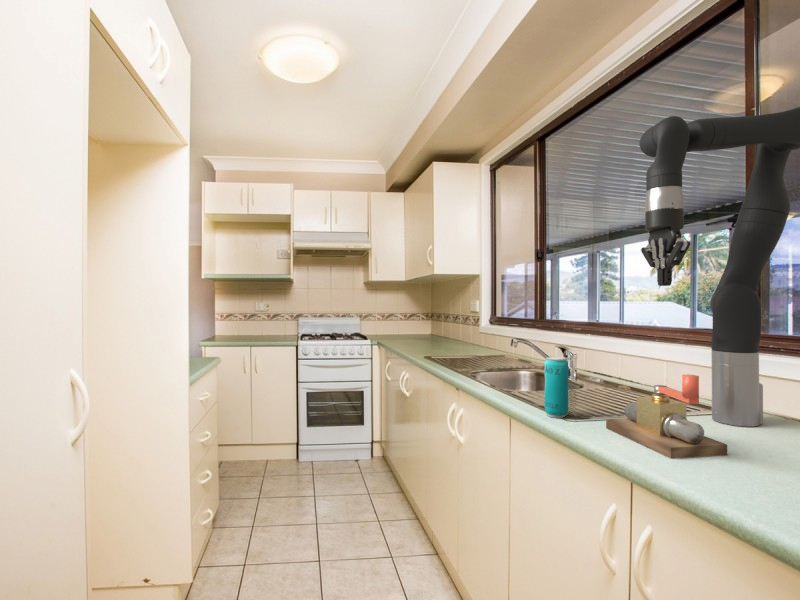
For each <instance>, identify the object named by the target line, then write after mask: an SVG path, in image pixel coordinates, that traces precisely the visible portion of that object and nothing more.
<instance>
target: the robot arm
mask: <svg viewBox="0 0 800 600" xmlns="http://www.w3.org/2000/svg"><path fill="white" fill-rule="evenodd" d="M638 143H639V148H640V151H641V152H642V153H643V154H644V155H645V156H648V157H650V158H655V159H654V161H653V162H652V163H651V165H650V166H649V167H648V168H647V170H646V174H645V176H646V178H645V183H646V184H645V185H646V187H645V188H646V189H645V190H646V193H645V199H644V200H645V203H644V205H645V206H644V208H645V211H644V213H645V214H644V215H645V217H644V219H645V223H644V226H645V228H644V229H645V232H647V233H648V234H649V236H648V241H647V243H648V244H647V245H646V246H645V247H642V248H641V249H640V252H641V254H642V255H643V257H644V258H645V260H646V262H647V263H648V265H649V267H650V268H654V269H656V282H657V285H658V286H659V287H668V286H671V285H672V281H673V269H674V268H675V267H676V266H679V265H681V263H682V261H683V260H684V257H685V255H686V254H687V252H688V250H689V248H690V247H691V242H690V241H688V240H687V241H686V240H685V239H683V238H682V237H683V236H682V233H681V230H683V229H684V227H685V225H684V223H685V222H684V221H685V220H684V219H685V212H684V211H685V209H684V208H685V206H684V202H685V200H684V199H685V198H684V192H683V171H682V170H683V166H684V163H685V160H686V156H687V153H690V152H707V151H708V152H709V151H710V152H711V151H717V150H718V151H720V150H728V149H734V148H740V147H745V146H752V145H757V146H756V150H755V151H756V152H755V153H756V154H755V156H754V162H753V167H752V171H751V175H750V178H749V182H748V185H747V188H746V192H745V196H744V198H743V200H742V204H741V207H740V210H739V213H738V214H737V215H738V217H737V219H736V222H735V225H734V229H733V233H732V235H731V242H730V246H729V250H728V251H729V252H728V257H727V261H726V265H725V268H724V270H723V273H722V275H721V276H720V277H721V278H720V279H719V282H718V284H717V286H716V288H715V290H714V292H713V294H712V296H711V298H710V303H709V307H710V310H711V312H712V334H711V342H710V343H711V419H712V420H713V421H715V422H718V423H721V424H725V425H731V426H735V427H736V426H738V427H758V426H760V425H764V386H763V384H762V383H761V382H760V342H761V338H762V302H761V299H760V296H759V295H758V294H757V292H758V288H759V283H760V279H761V276H762V272H763V269H764V268H765V266H766V264H767V262H768V260H769V259H770V257H771V255H772V254H773V252H774V250H775V248H776V246H777V245H778V243H779V240H780V238H781V237H782V234H783V231H784V229H785V226H786V223H787V221H788V218H789V214H790V210H791V202H790V196H789V192H788V190H787V186H786V183H785V179H784V173H785V168H786V164H787V160H788V158H789V156H790V153H791V151H796V150H800V106H797V107H794V108H791V109H788V110H785V111H779V112H773V113H767V114H766V113H765V114H758V115H745V116H730V117H728V116H727V117H712V118H710V117H709V118H708V117H707V118H699V119H695V120H692V121H690V122H688V123H687V122H686V120H685V119H684V118H682V117H680V116H677V115H672V116H668V117H665V118H664V119H662V120H661V121H658V122H657V123H656V124H654V125H652V126H651V127H650V128H648V129H647V130H645V131H644V133H643V134H642V135H641V137H640V139H639V142H638Z"/></svg>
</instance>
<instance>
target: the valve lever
mask: <svg viewBox="0 0 800 600" xmlns="http://www.w3.org/2000/svg"><path fill="white" fill-rule="evenodd" d="M681 377H682V379H681V381H682V383H681V384H682V385H681V387H682V389H681V391H679V390H677V389H675V388H672V387H669V386H667V385H663V384H654V385H653V394H657V395H668V396H669V397H672V399H673V398H674V399H677V401H680V402H683V403H686V404H687V405H688V404H689V405H692V404H693V405H694V404H695V405H697V404H698V405H699V404H700V388H699V387H700V376H699V375H695V374H682V375H681Z"/></svg>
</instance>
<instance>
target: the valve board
mask: <svg viewBox="0 0 800 600" xmlns="http://www.w3.org/2000/svg"><path fill="white" fill-rule="evenodd" d="M670 397H671V396H668V395H657V394H654V393H652V394H651V396H637V397H636V402H634V401H633V402H629V403H628V404H627V405H626V406H625V407H624V416H625V417H626V418H613V419H606V420H605V423H606V424H605V427H606V429H607V430H609V431H610V432H611V431H612V432H613V433H615V434H617V435H620V436H622V437H624V438H627V439H628V440H630V441H633V442H635V443H636V444H639V445H642V446H643V447H646V448H648V449H650V450H652V451H654V452H656V453H658V454H661V455H663V456H665V457H666V458H669V459H683V458H699V457H715V456H727V455H728V444H727V443H724V442H722V441H718V440H715V439H714V438H711V437H708V436H705V430H704V428H703V426H702V425H701V424H699V423H696V422H693V421H691V420H688V419H687V403H686V402H683V401H681V400H675V399H673V398H670Z"/></svg>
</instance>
